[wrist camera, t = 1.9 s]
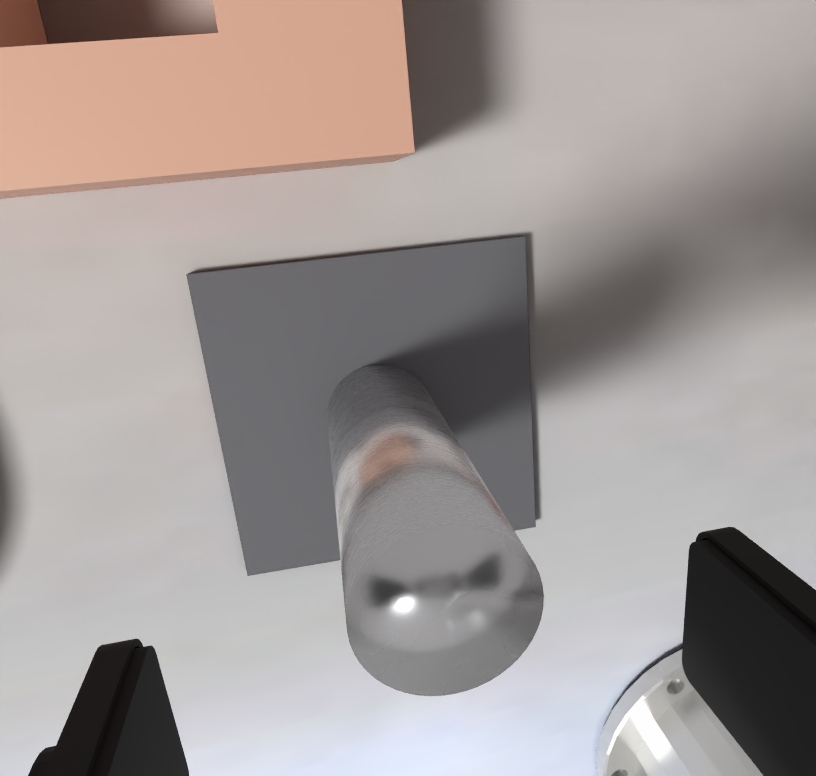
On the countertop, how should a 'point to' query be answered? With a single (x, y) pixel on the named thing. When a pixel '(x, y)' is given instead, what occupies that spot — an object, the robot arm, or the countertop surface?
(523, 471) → the rubber mat
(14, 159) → the hole block
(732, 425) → the countertop surface
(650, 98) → the countertop surface
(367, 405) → the steel pin
